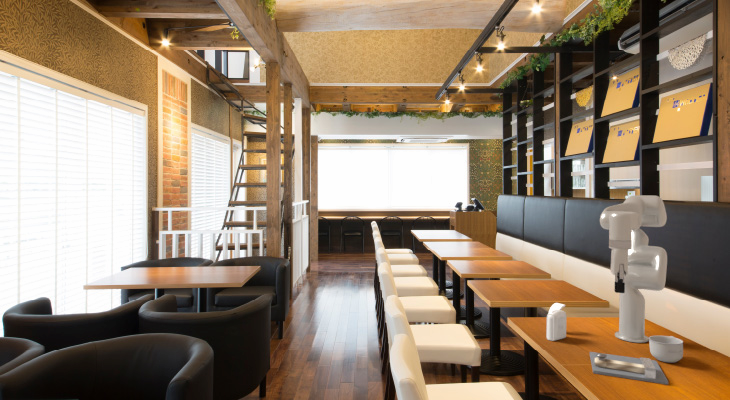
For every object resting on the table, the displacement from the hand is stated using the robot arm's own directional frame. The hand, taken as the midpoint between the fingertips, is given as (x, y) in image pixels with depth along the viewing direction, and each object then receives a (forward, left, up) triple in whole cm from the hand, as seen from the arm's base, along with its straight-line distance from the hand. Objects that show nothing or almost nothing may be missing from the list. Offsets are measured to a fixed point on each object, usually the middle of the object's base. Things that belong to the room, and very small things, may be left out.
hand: (619, 292), depth 168 cm
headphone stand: (-26, -22, -25) cm, 42 cm away
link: (+15, 0, -24) cm, 28 cm away
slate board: (+11, +1, -25) cm, 27 cm away
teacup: (-6, +17, -25) cm, 31 cm away
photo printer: (-14, -22, -25) cm, 36 cm away
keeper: (+15, +7, -25) cm, 30 cm away
